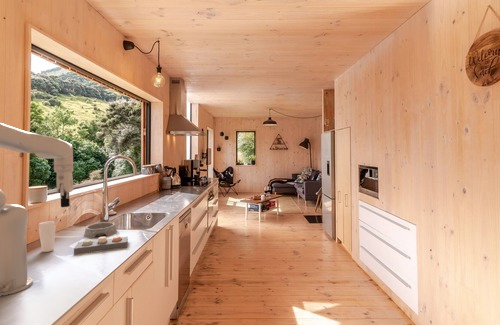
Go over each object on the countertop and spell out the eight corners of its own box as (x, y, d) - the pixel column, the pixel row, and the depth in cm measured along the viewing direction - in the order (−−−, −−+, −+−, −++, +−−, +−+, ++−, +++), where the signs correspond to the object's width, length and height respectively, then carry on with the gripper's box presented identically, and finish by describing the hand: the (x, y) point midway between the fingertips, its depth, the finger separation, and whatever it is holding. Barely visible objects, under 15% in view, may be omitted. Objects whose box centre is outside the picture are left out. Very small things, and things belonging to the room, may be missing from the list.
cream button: (106, 243, 141) (106, 238, 140) (97, 245, 139) (97, 239, 139) (107, 241, 144) (106, 236, 144) (98, 242, 143) (98, 237, 143)
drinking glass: (47, 253, 134) (46, 224, 134) (36, 252, 136) (35, 223, 135) (59, 248, 141) (58, 221, 141) (48, 248, 142) (47, 220, 142)
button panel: (126, 247, 142) (126, 241, 142) (74, 254, 133) (73, 248, 132) (127, 241, 151) (127, 236, 151) (78, 248, 142) (78, 242, 142)
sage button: (91, 247, 138) (90, 241, 138) (82, 248, 136) (81, 243, 136) (92, 245, 142) (92, 239, 142) (83, 246, 140) (83, 240, 140)
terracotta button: (120, 243, 143) (120, 238, 143) (112, 244, 142) (112, 239, 142) (121, 241, 147) (121, 236, 147) (113, 242, 145) (113, 237, 145)
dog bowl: (117, 234, 165) (117, 226, 165) (82, 239, 157) (82, 230, 156) (116, 228, 180) (116, 220, 180) (84, 232, 172) (84, 224, 171)
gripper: (69, 169, 121) (70, 208, 122) (76, 167, 135) (77, 203, 136) (49, 169, 118) (51, 210, 119) (59, 168, 132) (60, 204, 133)
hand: (65, 206), depth 127 cm, fingers closed
